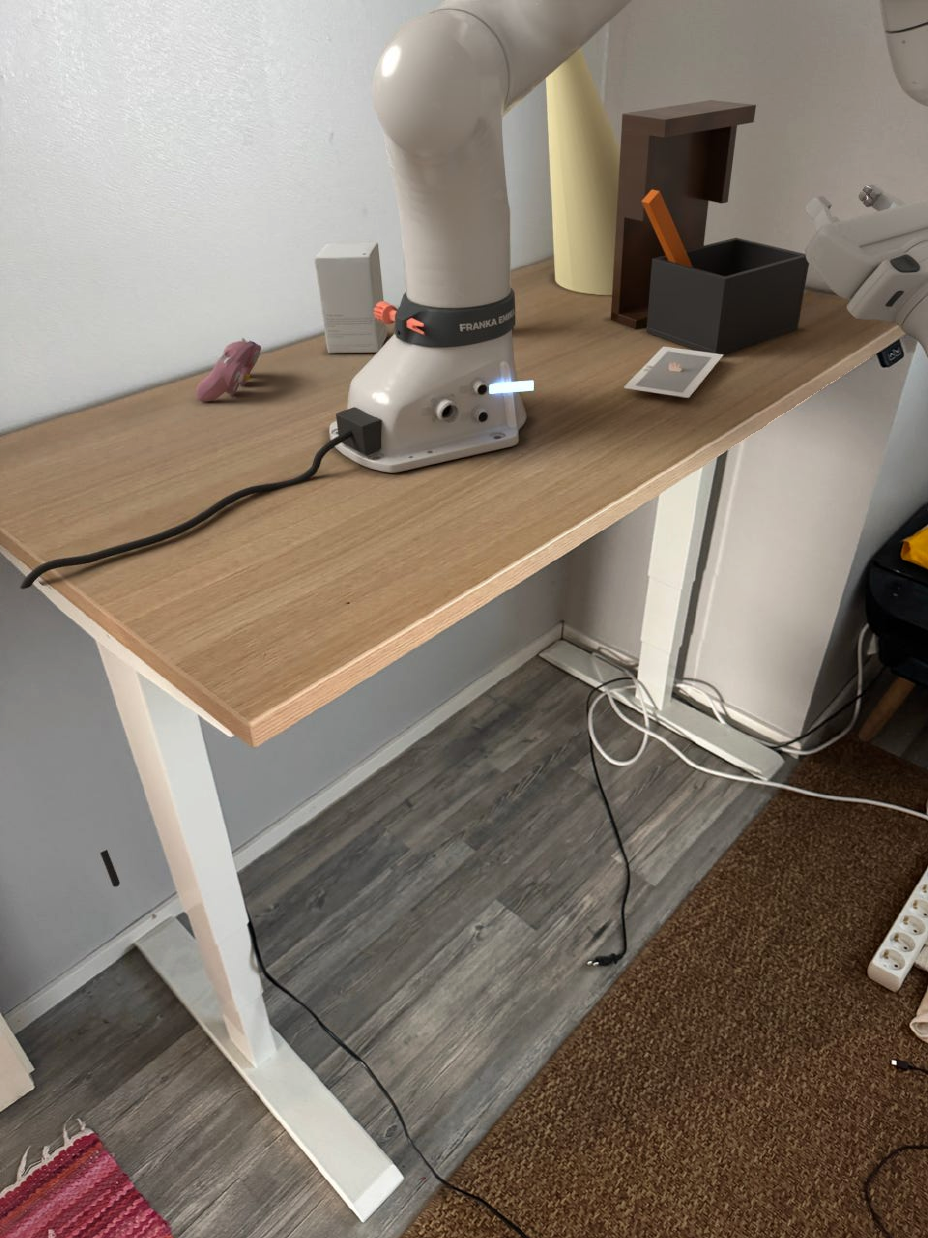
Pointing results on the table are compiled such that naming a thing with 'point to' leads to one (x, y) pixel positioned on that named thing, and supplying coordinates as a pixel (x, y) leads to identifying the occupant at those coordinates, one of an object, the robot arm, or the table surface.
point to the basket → (727, 295)
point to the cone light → (581, 179)
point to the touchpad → (674, 372)
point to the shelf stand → (668, 188)
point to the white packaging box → (350, 297)
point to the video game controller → (229, 370)
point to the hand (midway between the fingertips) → (839, 195)
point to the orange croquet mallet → (665, 228)
